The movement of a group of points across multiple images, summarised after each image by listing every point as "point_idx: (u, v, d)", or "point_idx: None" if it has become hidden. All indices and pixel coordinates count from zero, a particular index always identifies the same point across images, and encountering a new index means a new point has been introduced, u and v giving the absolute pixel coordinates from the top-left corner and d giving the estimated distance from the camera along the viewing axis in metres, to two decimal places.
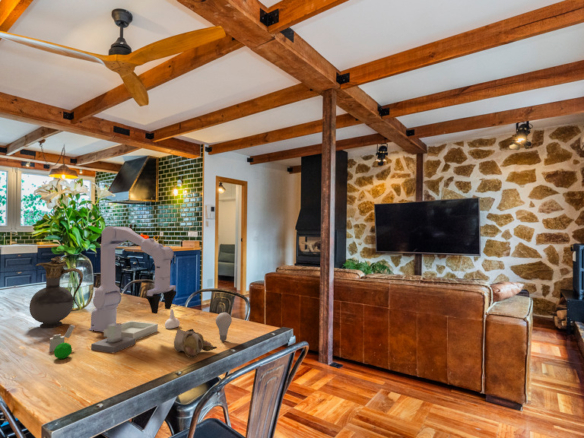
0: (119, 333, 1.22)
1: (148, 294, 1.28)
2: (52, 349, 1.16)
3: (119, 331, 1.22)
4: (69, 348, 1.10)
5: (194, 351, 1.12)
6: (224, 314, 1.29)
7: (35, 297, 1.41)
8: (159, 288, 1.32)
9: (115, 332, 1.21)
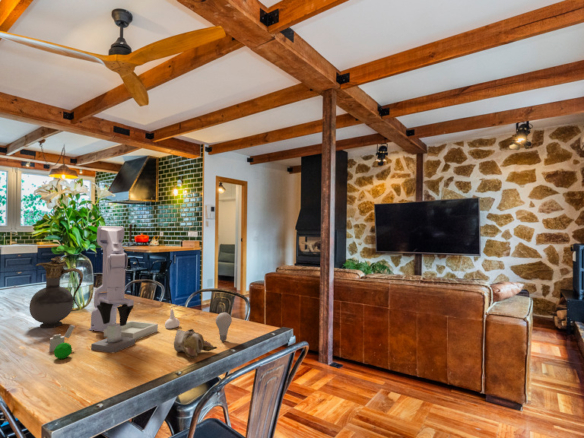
0: (119, 333, 1.22)
1: None
2: (52, 349, 1.16)
3: (119, 331, 1.22)
4: (69, 348, 1.10)
5: (194, 351, 1.12)
6: (224, 314, 1.29)
7: (35, 297, 1.41)
8: None
9: (115, 332, 1.21)
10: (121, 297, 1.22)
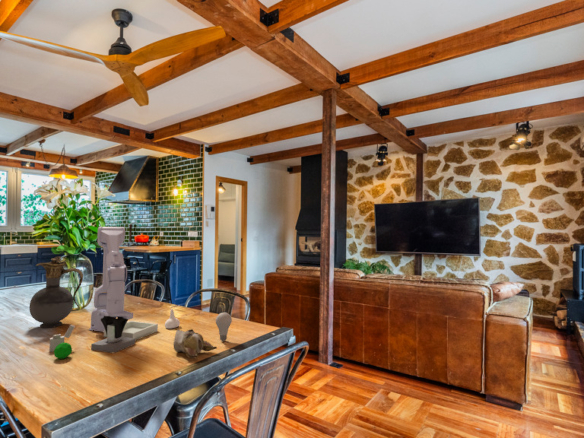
0: None
1: None
2: (52, 349, 1.16)
3: None
4: (69, 348, 1.10)
5: (194, 351, 1.12)
6: (224, 314, 1.29)
7: (35, 297, 1.41)
8: None
9: None
10: (121, 310, 1.21)
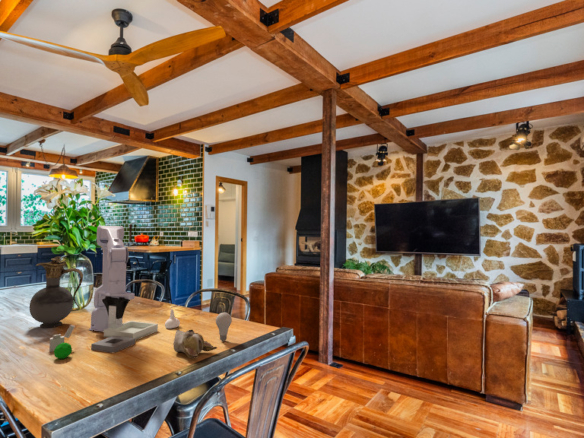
0: None
1: None
2: (52, 349, 1.16)
3: None
4: (69, 348, 1.10)
5: (195, 352, 1.11)
6: (224, 314, 1.29)
7: (35, 297, 1.41)
8: None
9: None
10: (122, 291, 1.22)
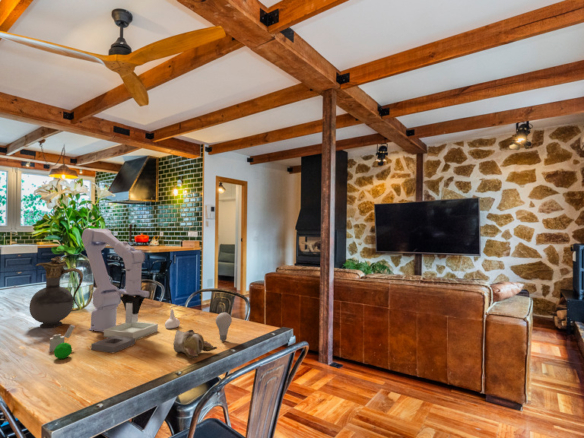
0: None
1: None
2: (52, 349, 1.16)
3: None
4: (69, 348, 1.10)
5: (195, 352, 1.11)
6: (224, 314, 1.29)
7: (35, 297, 1.41)
8: None
9: None
10: (138, 289, 1.36)
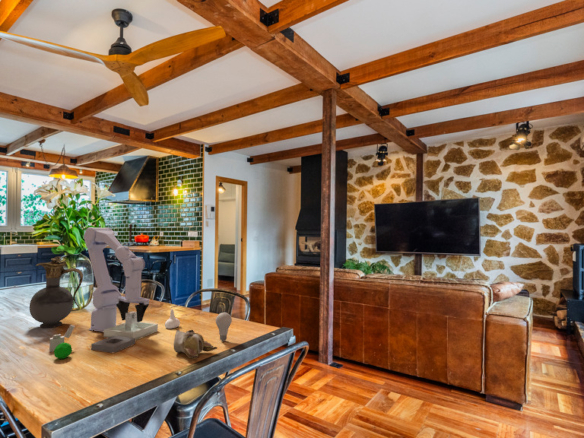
0: (136, 320, 1.37)
1: None
2: (52, 349, 1.16)
3: (136, 318, 1.37)
4: (69, 348, 1.10)
5: (195, 352, 1.11)
6: (224, 314, 1.29)
7: (35, 297, 1.41)
8: None
9: (133, 319, 1.35)
10: (138, 296, 1.36)
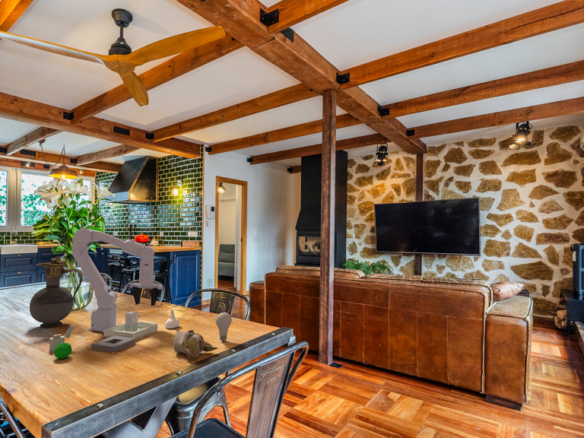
0: (136, 320, 1.37)
1: None
2: (52, 349, 1.16)
3: (136, 318, 1.37)
4: (69, 348, 1.10)
5: (195, 352, 1.11)
6: (224, 314, 1.29)
7: (35, 297, 1.41)
8: None
9: (133, 319, 1.35)
10: (151, 282, 1.48)
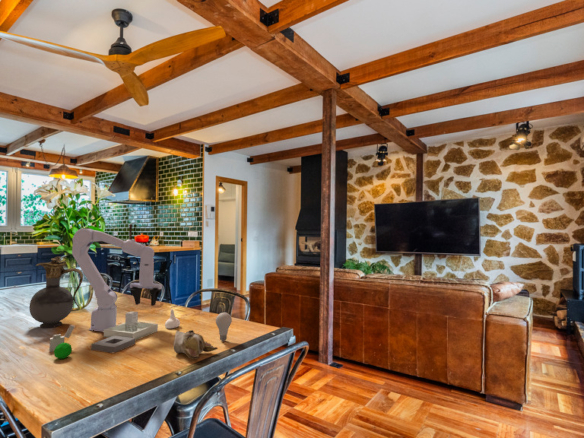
0: (136, 320, 1.37)
1: None
2: (52, 349, 1.16)
3: (136, 318, 1.37)
4: (69, 348, 1.10)
5: (195, 352, 1.11)
6: (224, 314, 1.29)
7: (35, 297, 1.41)
8: None
9: (133, 319, 1.35)
10: (151, 282, 1.48)
